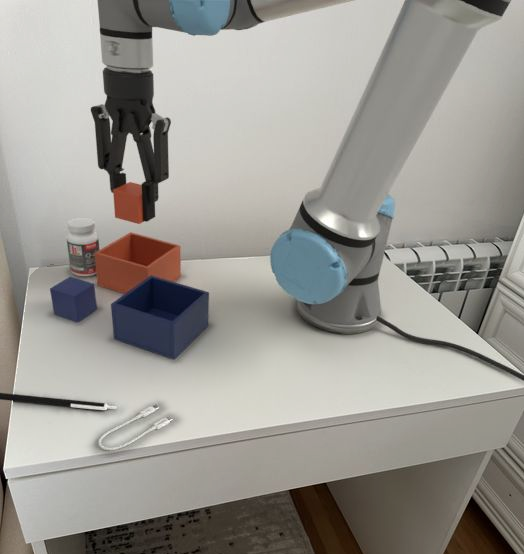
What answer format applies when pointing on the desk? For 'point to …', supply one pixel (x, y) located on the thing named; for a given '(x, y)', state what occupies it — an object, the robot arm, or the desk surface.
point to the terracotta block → (129, 202)
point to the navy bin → (160, 316)
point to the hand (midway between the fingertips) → (135, 214)
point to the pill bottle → (82, 246)
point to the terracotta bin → (136, 262)
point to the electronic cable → (142, 413)
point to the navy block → (73, 299)
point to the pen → (56, 401)
